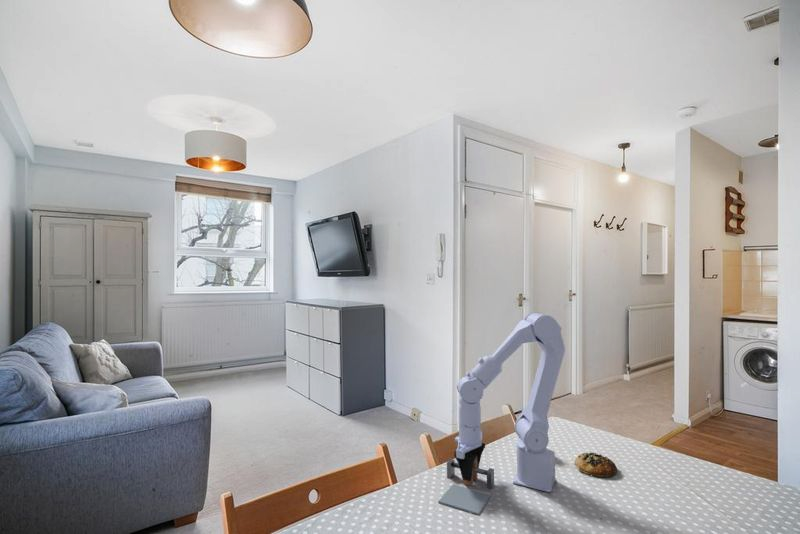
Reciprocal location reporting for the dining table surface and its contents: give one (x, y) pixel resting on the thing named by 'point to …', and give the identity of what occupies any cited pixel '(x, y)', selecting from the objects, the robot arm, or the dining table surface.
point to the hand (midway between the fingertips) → (470, 475)
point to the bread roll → (595, 465)
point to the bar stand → (490, 473)
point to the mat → (465, 499)
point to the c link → (474, 475)
